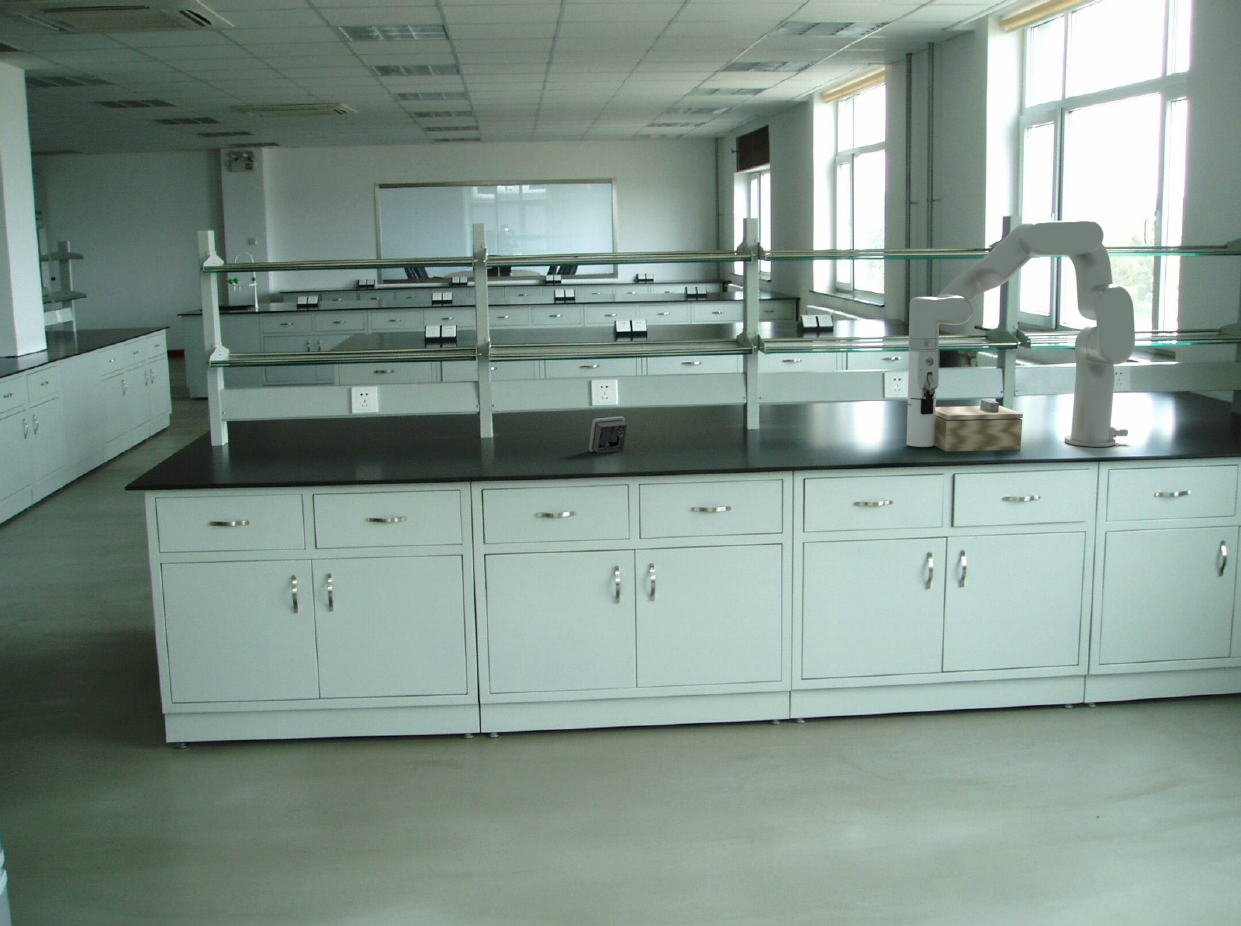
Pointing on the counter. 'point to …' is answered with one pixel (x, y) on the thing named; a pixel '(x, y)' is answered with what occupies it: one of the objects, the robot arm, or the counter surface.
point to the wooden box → (978, 434)
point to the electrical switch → (608, 434)
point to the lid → (978, 412)
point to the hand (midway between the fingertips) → (921, 411)
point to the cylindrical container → (918, 409)
